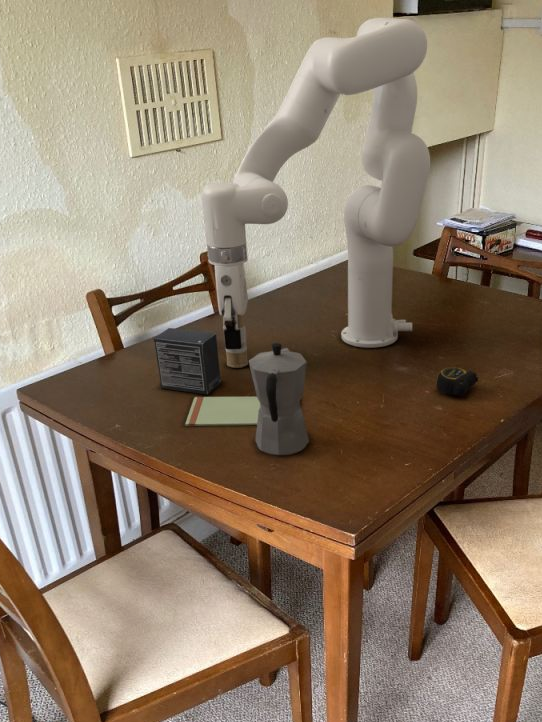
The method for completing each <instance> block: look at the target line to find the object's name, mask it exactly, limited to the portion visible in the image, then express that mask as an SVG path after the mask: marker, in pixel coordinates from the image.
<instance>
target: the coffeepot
mask: <svg viewBox="0 0 542 722" xmlns="http://www.w3.org/2000/svg"><path fill="white" fill-rule="evenodd" d="M282 347H283V345H282V343H279V342H274V343H272V344H271V349H272V350H271V351H263V352H258V354H256V355H254V356H253V357H252V358H250V359H249V360H248V365H249V369H250V373H251V378H252V381H253V386H254V390H255V395H256V396H257V398H258V400H259V402H260V409H259V411H258V421H257V425H256V432H255V443H256V445H257V448H258V449H259V450H260V451H261V452H264V454H267V455H271V456H289V455H294V454H296V453H299V452H301V451H302V450H304V449H305V448H306V447H307V445H308V444H309V443H310V440H309V435H308V431H307V425H306V421H305V417H304V413H303V409H302V407H301V400H302V399H303V395H304V387H305V381H306V380H305V379H306V371H307V360H306V359H305V358H304V356H303V355H302V354H301V353H300V352H295V351H291V350H290V349H289V348H288V347H284V348H282Z"/></svg>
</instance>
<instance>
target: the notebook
mask: <svg viewBox="0 0 542 722" xmlns="http://www.w3.org/2000/svg"><path fill="white" fill-rule="evenodd" d="M259 409H260V402H259V400H258V398H257V395H256V396H194V398H193V400H192V403H191V406H190V409H189V412H188V415H187V416H186V417H187V418H186V420H185V423H184V425H185V426H184V427H196V426H197V427H208V426H209V427H211V426H215V427H218V426H219V427H220V426H257V421H258V411H259Z"/></svg>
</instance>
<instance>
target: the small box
mask: <svg viewBox="0 0 542 722" xmlns="http://www.w3.org/2000/svg"><path fill="white" fill-rule="evenodd" d="M153 342H154V347H155V348H154V349H155V354H156V362H157V368H158V375H159V382H160V389H162V390H164V389H165V390H171V391H176V392H177V391H178V392H185V393H191V394H192V393H193V394H200V395H205V396H206V395H207V396H208V395H209V394H211V392H212V391H213V390H215V389H216V388H217V387H218V386H220V385H221V383H222V380H221V379H222V378H221V369H220V360H219V351H218V341H217V333H216V332H208V331H199V330H192V329H181V328H173V327H167V329H165V330H164V331H162V332H160V333H159V334H157V335H155V336H154V337H153Z"/></svg>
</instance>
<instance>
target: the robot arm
mask: <svg viewBox="0 0 542 722" xmlns="http://www.w3.org/2000/svg"><path fill="white" fill-rule="evenodd" d="M427 52H428V39H427V36H426V33H425V31H424V29H423V27H421V26H420V25H419V23H417V22H416V21H414V20H412V19H408V18H397V17H396V18H395V17H394V18H392V17H373V18H370V19H367V20H366V21H364V22H363V23H362V24H361V25H360V26H359V27H358V29H357V32H356V35H355V36H352V37H348V38H347V37H334V36H327V37H326V36H325V37H321V38H318V39H316V40H315V41H314V42H313V43H312V44H311V45H310V46H309V48H308V50H307V52H306V53H305V55H304V57H303V59H302V61H301V63H300V66H299V67H298V69H297V71H296V74H295V76H294V78H293V80H292V82H291V84H290V86H289V88H288V91H287V92H286V95H285V96H284V99H283V100H282V103H281V105H280V107H279V108H278V110H277V112H276V114H275V116H274V117H273V118H272V119H271V120H270V121H269V122H268V123H267V124H266V126H265V127H264V128H263V130H262V131H261V132H260V133H259V134H258V135H257V137H256V138H255V139H254V140H253V142H252V143H251V145H250V146H249V147H248V149H247V150H246V153H245V155H244V157H243V158H242V161H241V163H240V165H239V167H238V169H237V171H236V173H235V176H234V178H233V181H232V182H230V181H217V182H211V183H208V184H206V185H205V186H203V188H202V190H201V202H202V211H203V212H202V213H203V222H204V232H205V241H206V250H207V261H208V263H209V264H210V265H212V266H214V275H215V276H214V278H215V289H216V298H217V299H216V301H217V307H218V313H219V315H220V316H222V317H223V316H224V329H223V338H225V339H224V349H225V348H226V349H241V347H242V345H241V333H240V329H239V327H238V315H241V316H243V315H244V316H245V313H246V311H247V307H248V303H249V297H248V296H249V295H248V288H247V279H246V269H245V268H246V267H245V263H247V262H248V261H249V260H248V247H247V246H248V245H247V234H246V231H247V230H246V225H250V224H251V225H271V224H275V223H277V222H279V221H280V220H281V219H283V217H284V216H285V215H286V214H287V211H288V208H289V200H288V195H287V193H286V191H285V190H284V189H283V188H282V187H281V186H280V185H279V184H278V183H276V182H274V181H275V179H276V177H277V175H278V174H279V171H280V170H281V168H282V167H283V166H284V165H285V164H286V163H287V161H288V160H289V159H290V158H292V156H294V155H295V154H297V153H299V152H301V151H302V150H304V149H305V150H306V149H307V148H309V147H310V146H312V145H313V144H314V143H316V142H317V140H318V139H319V138H320V135H321V133H322V131H323V129H324V128H325V126H326V124H327V122H328V120H329V117H330V115H331V113H332V112H333V110H334V108H335V105H336V103H337V102H338V99H339V97H340V96H341V95H345V96H352V95H358V94H361V93H365V92H368V91H370V90H372V102H371V107H370V114H369V118H368V123H367V124H368V125H367V128H366V132H365V133H366V134H365V136H364V142H363V147H362V151H361V165H362V168H363V170H364V172H365V173H366V174H367V175H369V176H370V177H372V178H374V179H375V180H378V181H380V182H381V185H380V187H379V186H376V185H370V184H365V185H360V186H359V187H356V188H355V189H354V190H352V191H351V192H350V194H349V195H348V196H347V198H346V200H345V203H344V208H343V221H344V222H343V223H344V229H345V235H346V243H347V326H346V327H344V328H343V329H342V330H341V332H340V337H341V340H342V342H344V343H346V344H348V345H349V346H352V347H356V348H364V349H371V348H372V349H374V348H375V349H376V348H382V347H387V346H389V345H390V346H391V345H392V344H394V343H395V342H396V341H397V340H398V338H399V332H413V322H407V319H396V318H394V317H393V313H392V311H393V310H392V309H393V279H394V278H393V277H394V250H393V249H394V248H395V247H399V246H401V245H403V244H405V242H407V241H408V240H409V238H410V237H411V236H412V234H413V233H414V231H415V228H416V227H417V223H418V219H419V215H420V213H421V207H422V204H423V200H424V197H425V192H426V188H427V185H428V180H429V175H430V171H431V154H430V150H429V148H428V145H427V144H426V142H425V141H424V139H423V138H421V137H420V136H419V135H417V134H415V133H412V132H413V127H414V122H415V115H416V111H417V106H418V87H417V81H416V76H415V72H416V71H417V70H418V69H419V68H420V67H421V65H422V64H423V63H424V60H425V58H426V55H427ZM232 311H235V314H232ZM233 317H235V322H234V320H232V318H233ZM226 349H225V350H226Z"/></svg>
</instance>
